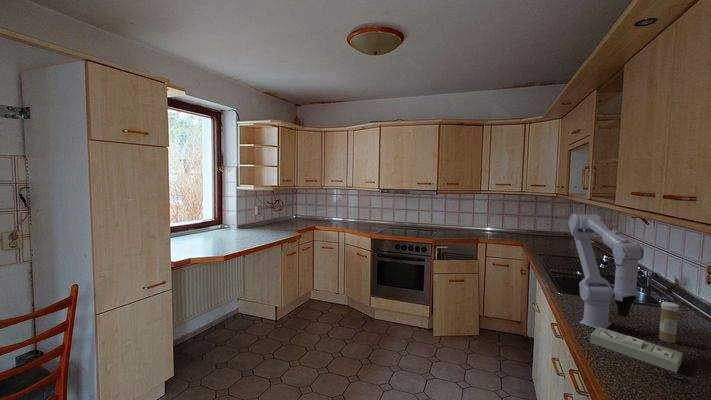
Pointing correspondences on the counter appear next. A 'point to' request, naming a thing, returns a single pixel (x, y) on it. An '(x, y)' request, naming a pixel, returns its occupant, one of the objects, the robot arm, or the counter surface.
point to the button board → (637, 350)
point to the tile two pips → (662, 352)
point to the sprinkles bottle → (668, 322)
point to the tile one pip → (634, 342)
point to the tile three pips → (608, 335)
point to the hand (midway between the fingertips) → (623, 315)
